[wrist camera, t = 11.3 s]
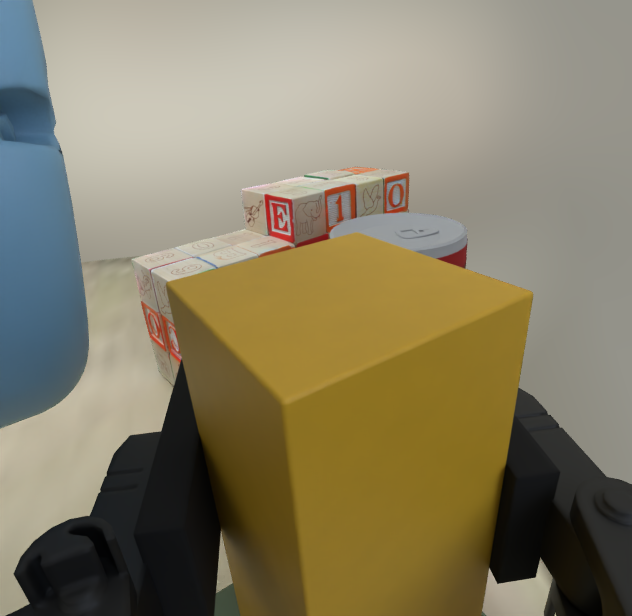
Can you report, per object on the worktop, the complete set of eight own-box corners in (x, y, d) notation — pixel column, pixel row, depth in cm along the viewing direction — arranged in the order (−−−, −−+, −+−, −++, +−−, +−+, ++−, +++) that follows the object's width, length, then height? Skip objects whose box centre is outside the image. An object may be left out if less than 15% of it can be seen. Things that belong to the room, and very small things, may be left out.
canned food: (479, 395, 29) (499, 231, 25) (375, 438, 26) (374, 261, 22) (408, 344, 36) (412, 205, 31) (317, 374, 33) (307, 226, 28)
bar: (331, 819, 9) (281, 402, 4) (244, 634, 12) (163, 281, 7) (472, 680, 11) (536, 290, 6) (364, 552, 14) (357, 230, 9)
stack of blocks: (197, 413, 30) (156, 230, 24) (158, 374, 34) (116, 213, 29) (407, 306, 42) (411, 169, 36) (358, 288, 46) (355, 163, 41)
